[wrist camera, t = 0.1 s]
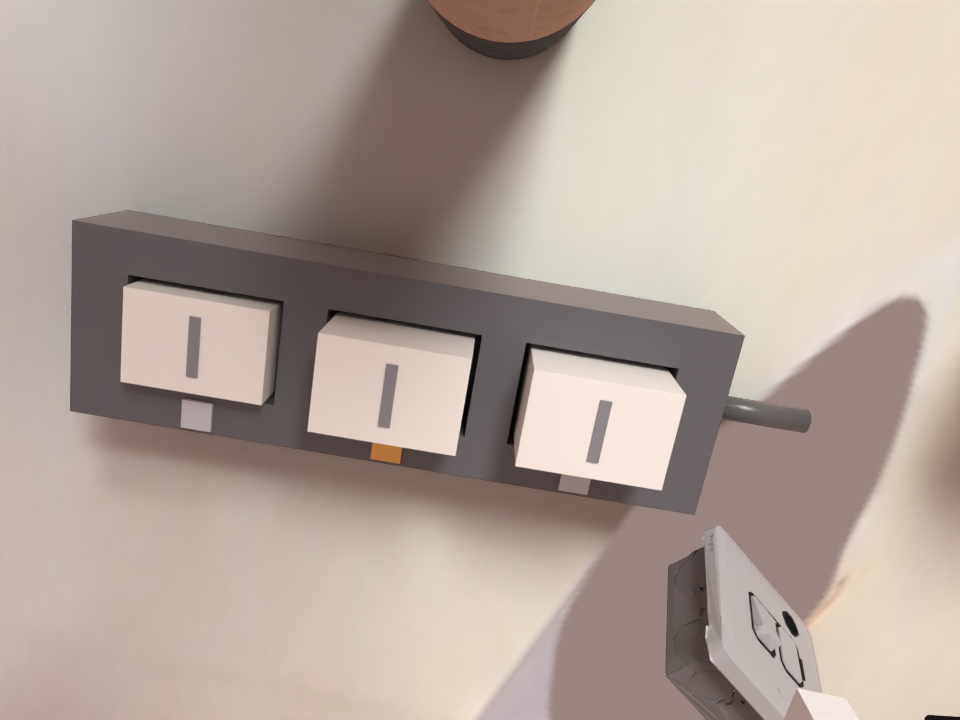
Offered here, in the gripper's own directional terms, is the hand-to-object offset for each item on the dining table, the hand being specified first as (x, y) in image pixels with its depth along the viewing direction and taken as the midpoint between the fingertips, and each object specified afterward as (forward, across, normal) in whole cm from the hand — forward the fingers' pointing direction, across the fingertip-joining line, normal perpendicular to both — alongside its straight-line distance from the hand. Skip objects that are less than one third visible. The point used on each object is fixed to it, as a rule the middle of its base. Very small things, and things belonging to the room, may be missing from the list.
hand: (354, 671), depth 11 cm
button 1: (+27, -11, -4) cm, 29 cm away
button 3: (+25, +7, -3) cm, 26 cm away
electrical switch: (+28, +19, -14) cm, 37 cm away
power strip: (+28, +1, -3) cm, 28 cm away
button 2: (+25, -2, -3) cm, 25 cm away
